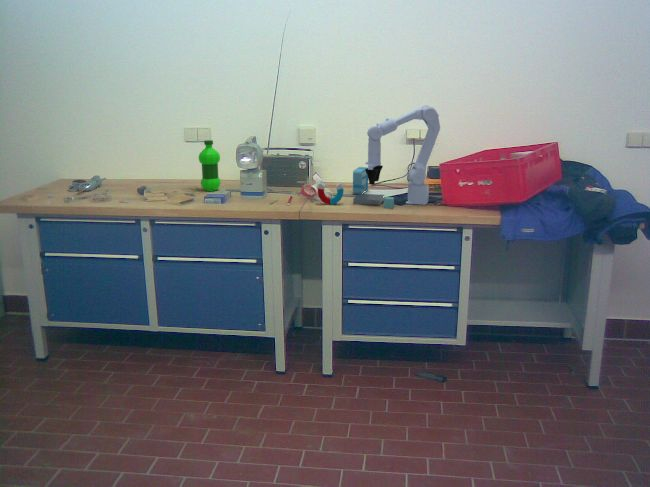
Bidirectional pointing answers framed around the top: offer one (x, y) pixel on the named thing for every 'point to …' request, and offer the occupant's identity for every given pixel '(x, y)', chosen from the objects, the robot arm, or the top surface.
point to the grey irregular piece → (86, 184)
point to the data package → (360, 180)
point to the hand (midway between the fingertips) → (373, 182)
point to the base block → (368, 199)
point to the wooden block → (388, 202)
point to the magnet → (327, 199)
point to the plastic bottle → (209, 167)
